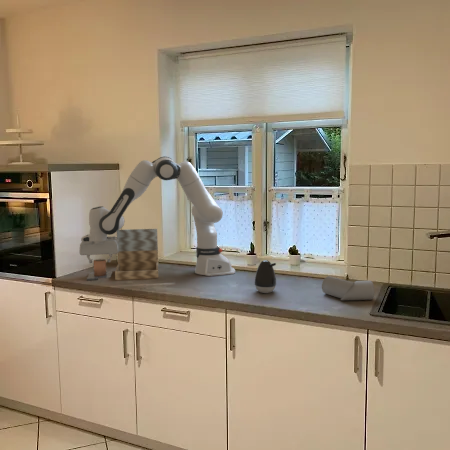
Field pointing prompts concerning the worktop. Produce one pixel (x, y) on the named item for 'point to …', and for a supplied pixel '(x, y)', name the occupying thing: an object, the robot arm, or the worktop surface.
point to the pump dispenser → (265, 277)
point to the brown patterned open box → (137, 254)
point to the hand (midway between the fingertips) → (100, 262)
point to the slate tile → (92, 277)
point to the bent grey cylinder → (348, 289)
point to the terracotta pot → (99, 267)
